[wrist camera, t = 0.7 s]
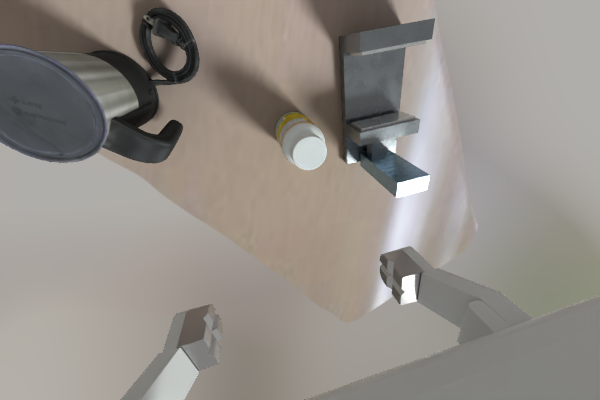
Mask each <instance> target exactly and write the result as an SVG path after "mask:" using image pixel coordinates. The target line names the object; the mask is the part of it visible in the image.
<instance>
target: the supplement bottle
mask: <svg viewBox="0 0 600 400" xmlns="http://www.w3.org/2000/svg"><path fill="white" fill-rule="evenodd" d="M275 133H276V137H277V140H278V142H279V144H280V146H281V149H282V151H283V153H284V155H285V157H286V158H287V160H288V161H290V162H291V163H292V164H294V165H297V166H298V167H299V168H301V169H303V170H313V169H315V168H317V167H319V166H320V165H321V164H322V163H323V162H324V160H325V158H326V155H327V148H326V145H325V139H324V136H323V133H322V132H321V130H320V129H319V128H318V127H317V126H316V125H315V124H314V123H313V122H311V121H310V120H309V119H308V118H307V117H306V116H304V115H303V114H301V113H299V112H290V113H287V114H285V115H283V116H282V117H281V118H280V119H279V121H278V123H277V125H276V130H275Z"/></svg>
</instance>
